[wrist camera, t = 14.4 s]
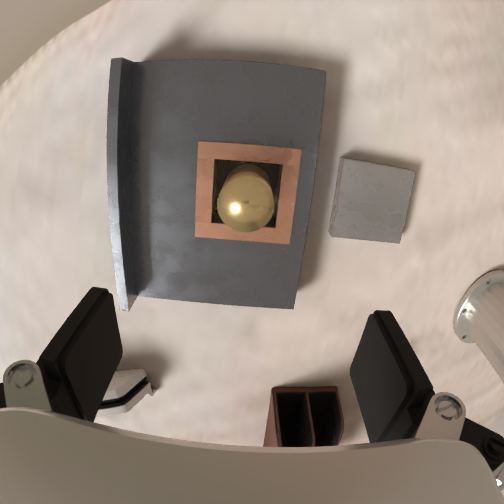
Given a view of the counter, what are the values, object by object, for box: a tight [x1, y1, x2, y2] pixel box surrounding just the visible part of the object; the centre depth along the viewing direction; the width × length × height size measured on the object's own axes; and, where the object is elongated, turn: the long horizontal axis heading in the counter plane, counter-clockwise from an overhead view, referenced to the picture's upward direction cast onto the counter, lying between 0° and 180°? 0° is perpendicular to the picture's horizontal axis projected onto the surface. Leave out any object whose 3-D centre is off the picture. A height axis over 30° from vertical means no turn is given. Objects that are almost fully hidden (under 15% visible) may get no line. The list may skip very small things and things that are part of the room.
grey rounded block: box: [96, 369, 156, 417], centre depth 39 cm, size 17×5×10 cm, turn 105°
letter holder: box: [263, 386, 344, 447], centre depth 41 cm, size 10×20×14 cm, turn 177°
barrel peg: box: [217, 164, 275, 232], centre depth 28 cm, size 4×4×7 cm
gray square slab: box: [329, 157, 415, 244], centre depth 31 cm, size 8×8×2 cm
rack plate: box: [107, 58, 326, 311], centre depth 28 cm, size 18×24×6 cm
